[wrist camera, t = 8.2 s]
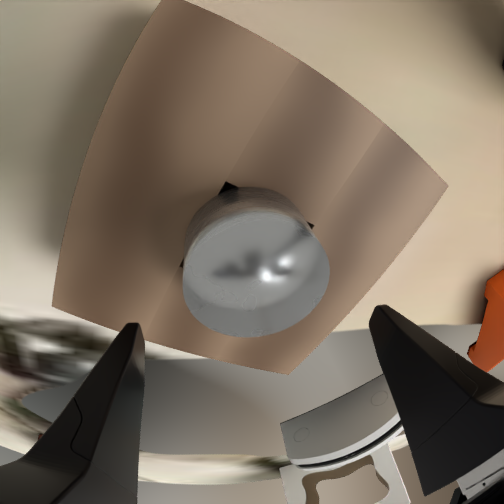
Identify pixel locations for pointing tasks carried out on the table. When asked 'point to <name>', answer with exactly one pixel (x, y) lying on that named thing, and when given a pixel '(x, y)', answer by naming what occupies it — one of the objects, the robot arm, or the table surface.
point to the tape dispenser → (491, 327)
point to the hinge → (343, 428)
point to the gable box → (304, 482)
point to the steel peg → (252, 263)
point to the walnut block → (232, 171)
